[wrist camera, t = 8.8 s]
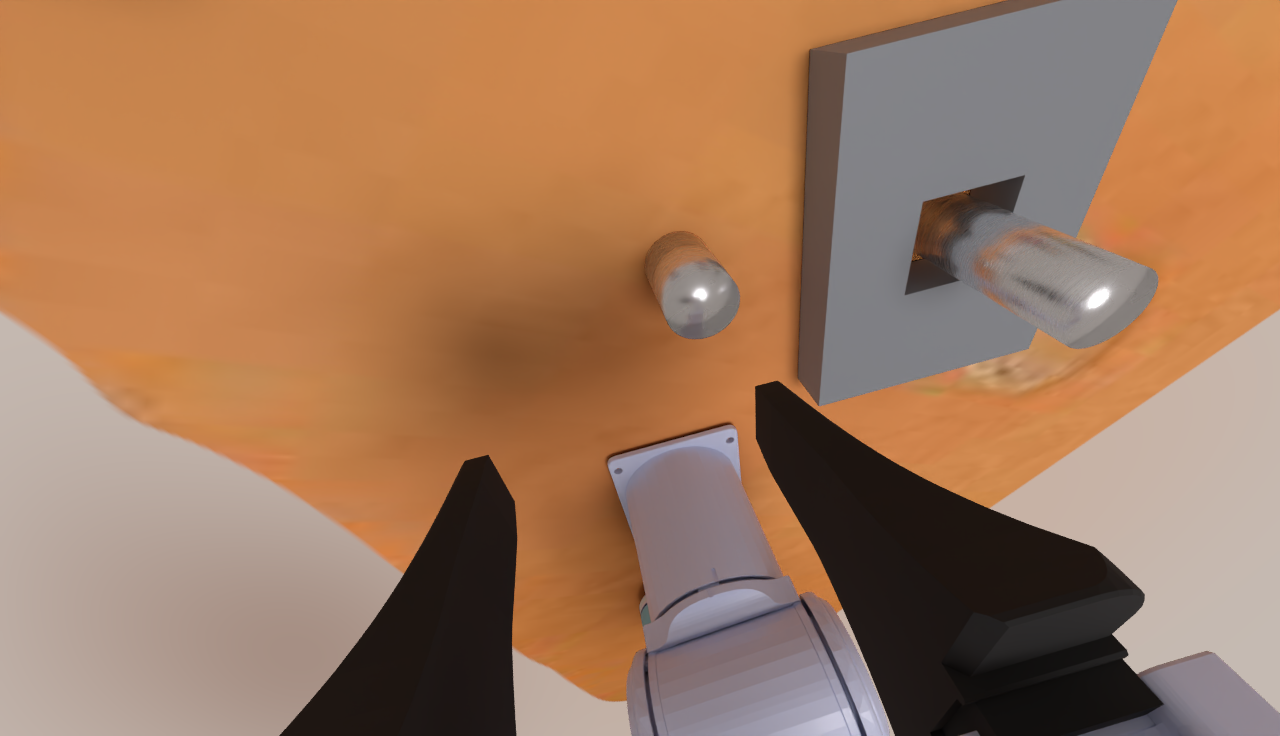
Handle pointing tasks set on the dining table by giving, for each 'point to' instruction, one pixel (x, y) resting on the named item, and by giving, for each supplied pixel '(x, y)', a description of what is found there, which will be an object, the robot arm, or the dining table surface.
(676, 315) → the short pin
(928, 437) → the dining table surface
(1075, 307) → the tall pin
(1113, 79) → the hole board
